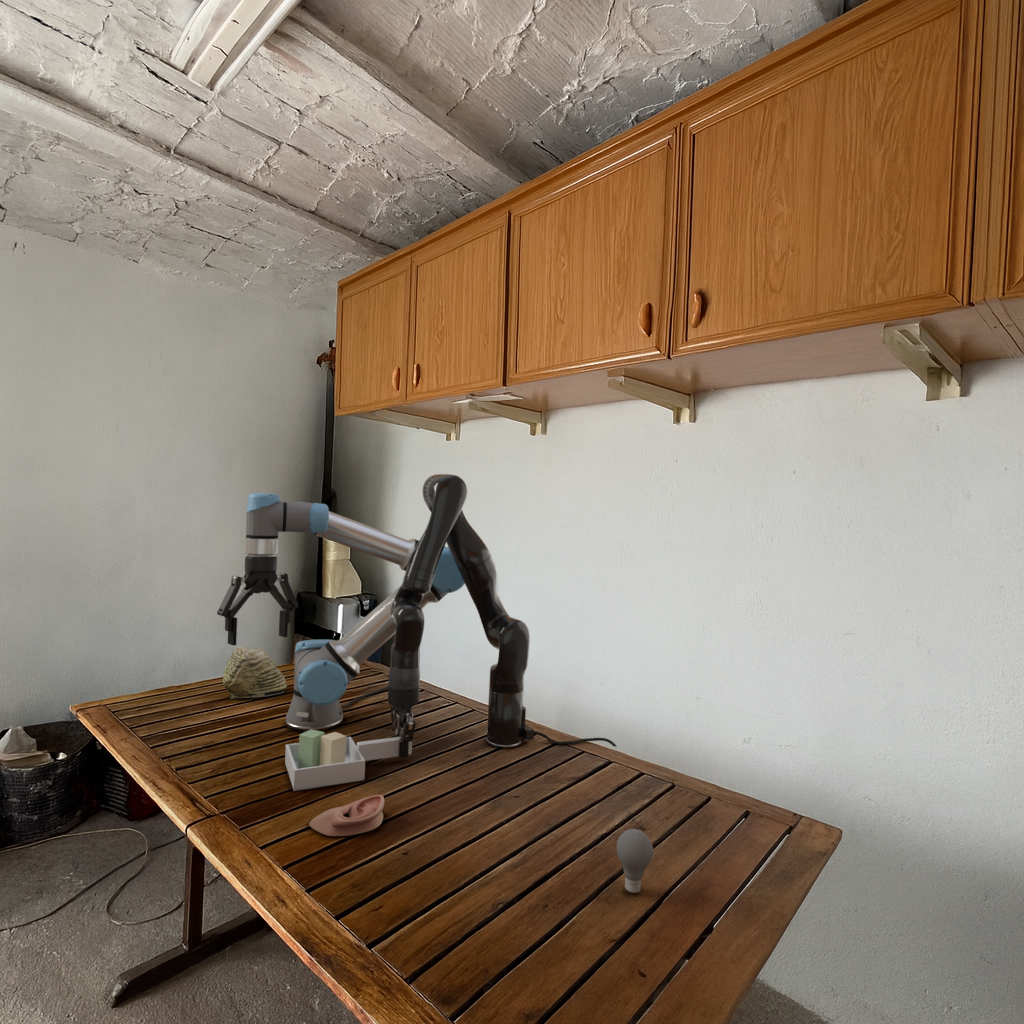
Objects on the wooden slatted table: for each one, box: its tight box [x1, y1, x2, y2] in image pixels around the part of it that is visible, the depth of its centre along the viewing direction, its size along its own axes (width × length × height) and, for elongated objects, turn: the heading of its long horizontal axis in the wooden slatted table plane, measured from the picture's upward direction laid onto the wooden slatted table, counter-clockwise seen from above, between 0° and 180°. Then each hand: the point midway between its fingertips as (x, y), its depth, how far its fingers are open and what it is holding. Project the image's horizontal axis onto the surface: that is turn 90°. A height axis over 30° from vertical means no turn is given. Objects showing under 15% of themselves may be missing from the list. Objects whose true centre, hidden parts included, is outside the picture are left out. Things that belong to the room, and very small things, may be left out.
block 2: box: [319, 731, 347, 766], centre depth 145 cm, size 4×4×8 cm
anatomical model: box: [308, 794, 385, 837], centre depth 124 cm, size 13×4×12 cm
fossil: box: [222, 646, 288, 699], centre depth 198 cm, size 9×18×15 cm, turn 132°
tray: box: [284, 736, 413, 792], centre depth 149 cm, size 28×15×6 cm, turn 116°
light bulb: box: [615, 828, 654, 894], centre depth 106 cm, size 6×6×10 cm
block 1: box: [298, 729, 326, 769], centre depth 146 cm, size 4×4×8 cm
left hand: (258, 640), depth 158 cm, fingers open, 13 cm apart
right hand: (401, 753), depth 154 cm, fingers closed
